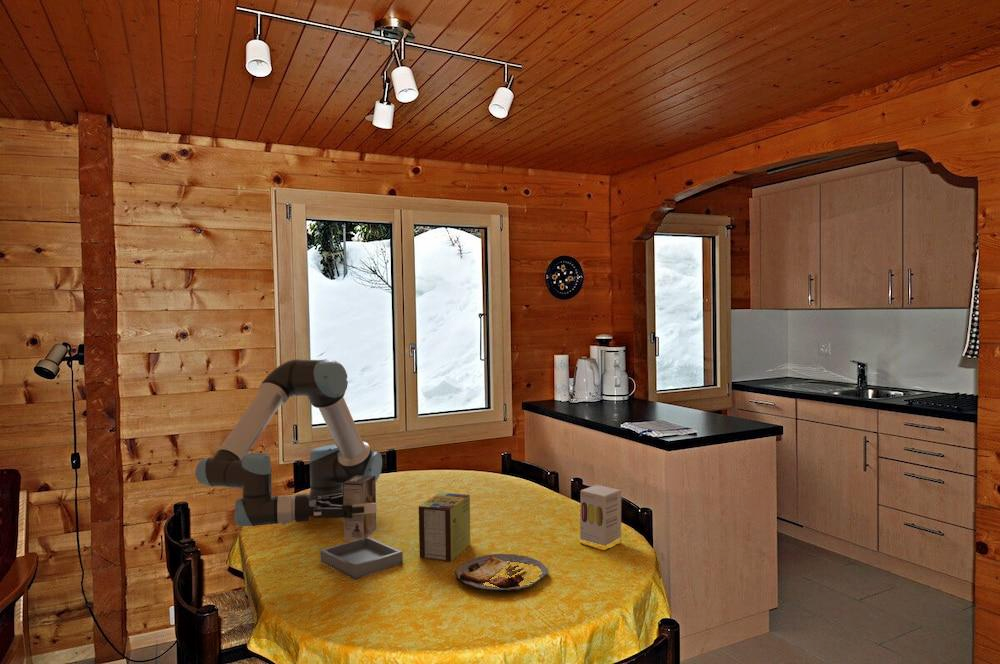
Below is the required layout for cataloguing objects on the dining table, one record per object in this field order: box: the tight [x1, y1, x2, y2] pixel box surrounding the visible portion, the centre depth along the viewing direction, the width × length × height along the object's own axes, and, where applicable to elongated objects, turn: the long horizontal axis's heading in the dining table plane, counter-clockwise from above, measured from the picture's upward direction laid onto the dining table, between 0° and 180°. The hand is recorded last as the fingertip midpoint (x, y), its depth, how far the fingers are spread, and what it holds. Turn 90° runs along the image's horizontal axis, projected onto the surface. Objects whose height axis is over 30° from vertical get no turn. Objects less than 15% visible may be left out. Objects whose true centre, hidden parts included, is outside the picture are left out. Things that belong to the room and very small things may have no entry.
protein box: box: [418, 491, 471, 562], centre depth 200 cm, size 10×15×16 cm
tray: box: [319, 536, 404, 580], centre depth 191 cm, size 16×18×4 cm
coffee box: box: [343, 475, 377, 540], centre depth 190 cm, size 9×6×16 cm
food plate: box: [454, 553, 549, 592], centre depth 180 cm, size 25×23×4 cm
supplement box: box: [579, 484, 622, 546], centre depth 204 cm, size 10×9×17 cm
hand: (374, 502), depth 191 cm, fingers closed on coffee box, 10 cm apart
